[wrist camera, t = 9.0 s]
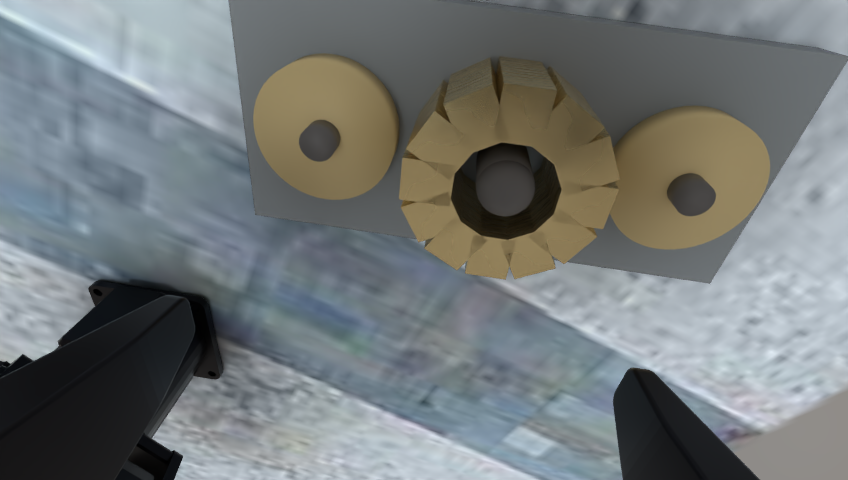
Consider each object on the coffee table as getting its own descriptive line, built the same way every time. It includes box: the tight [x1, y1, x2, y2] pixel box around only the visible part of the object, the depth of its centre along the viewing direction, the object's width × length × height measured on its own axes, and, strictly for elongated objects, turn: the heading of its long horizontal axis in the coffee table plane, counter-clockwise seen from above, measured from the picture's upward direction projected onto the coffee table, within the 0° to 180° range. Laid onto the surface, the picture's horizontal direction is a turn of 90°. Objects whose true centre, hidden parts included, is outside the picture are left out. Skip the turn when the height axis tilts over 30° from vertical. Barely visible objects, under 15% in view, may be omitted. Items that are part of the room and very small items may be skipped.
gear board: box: [229, 0, 848, 283], centre depth 15 cm, size 9×20×6 cm, turn 84°
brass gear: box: [399, 56, 620, 280], centre depth 15 cm, size 6×6×4 cm
